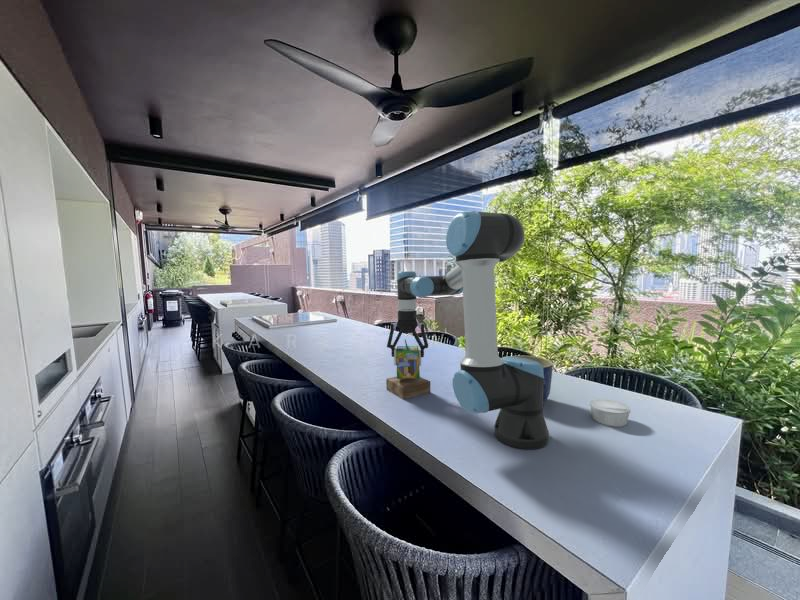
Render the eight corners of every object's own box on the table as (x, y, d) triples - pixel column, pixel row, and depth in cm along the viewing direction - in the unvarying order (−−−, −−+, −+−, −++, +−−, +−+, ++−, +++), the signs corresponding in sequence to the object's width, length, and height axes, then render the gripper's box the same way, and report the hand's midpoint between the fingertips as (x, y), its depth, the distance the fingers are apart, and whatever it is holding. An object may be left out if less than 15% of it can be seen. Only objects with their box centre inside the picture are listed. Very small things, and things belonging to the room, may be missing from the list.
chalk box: (419, 379, 135) (419, 342, 134) (396, 379, 135) (395, 342, 134) (419, 372, 144) (418, 337, 143) (397, 372, 145) (396, 337, 143)
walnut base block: (430, 393, 138) (430, 381, 138) (403, 400, 132) (402, 387, 131) (412, 384, 149) (412, 373, 149) (386, 390, 143) (386, 378, 142)
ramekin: (609, 431, 104) (610, 414, 103) (581, 416, 115) (581, 400, 114) (638, 426, 107) (639, 409, 106) (608, 412, 118) (608, 397, 117)
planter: (499, 405, 124) (499, 364, 123) (508, 390, 139) (508, 353, 138) (550, 413, 117) (551, 369, 115) (553, 397, 132) (554, 358, 130)
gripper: (434, 308, 140) (435, 362, 142) (381, 308, 143) (382, 361, 145) (434, 310, 133) (434, 367, 134) (378, 310, 135) (379, 366, 137)
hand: (407, 364), depth 139 cm, fingers closed on chalk box, 9 cm apart
